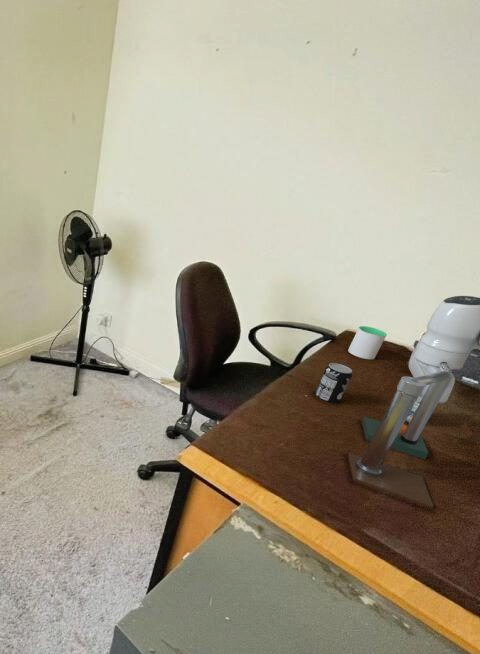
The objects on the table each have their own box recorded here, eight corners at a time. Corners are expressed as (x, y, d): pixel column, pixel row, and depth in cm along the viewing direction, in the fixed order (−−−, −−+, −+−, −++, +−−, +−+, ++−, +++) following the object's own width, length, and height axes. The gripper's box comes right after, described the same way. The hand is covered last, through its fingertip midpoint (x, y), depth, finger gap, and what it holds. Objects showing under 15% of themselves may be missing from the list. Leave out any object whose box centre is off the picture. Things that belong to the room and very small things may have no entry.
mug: (354, 344, 169) (365, 322, 165) (380, 352, 163) (391, 330, 159) (345, 352, 163) (356, 329, 159) (371, 361, 157) (383, 337, 153)
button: (404, 428, 116) (406, 424, 115) (406, 435, 113) (409, 430, 113) (386, 423, 118) (389, 419, 117) (389, 430, 115) (391, 425, 115)
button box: (416, 438, 118) (422, 427, 116) (425, 459, 110) (431, 447, 109) (361, 422, 124) (366, 411, 123) (366, 440, 117) (371, 429, 115)
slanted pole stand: (419, 481, 103) (469, 397, 93) (430, 511, 95) (487, 422, 85) (347, 457, 111) (386, 377, 101) (352, 482, 103) (395, 398, 92)
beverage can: (336, 396, 136) (351, 366, 131) (340, 407, 131) (356, 375, 126) (312, 390, 139) (325, 360, 134) (315, 400, 134) (329, 369, 129)
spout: (402, 434, 108) (439, 366, 99) (421, 444, 104) (461, 374, 96) (362, 447, 103) (397, 376, 95) (381, 458, 100) (419, 386, 91)
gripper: (470, 376, 97) (444, 423, 102) (445, 343, 112) (424, 386, 117) (432, 368, 100) (409, 414, 105) (413, 337, 115) (394, 379, 121)
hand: (417, 399), depth 111 cm, fingers closed
